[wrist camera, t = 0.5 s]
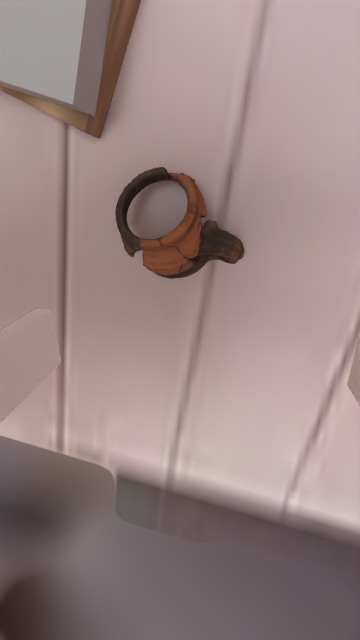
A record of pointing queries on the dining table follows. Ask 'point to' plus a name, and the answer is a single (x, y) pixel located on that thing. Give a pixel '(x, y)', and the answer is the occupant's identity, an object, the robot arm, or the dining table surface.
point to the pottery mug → (177, 232)
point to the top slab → (54, 49)
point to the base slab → (115, 49)
